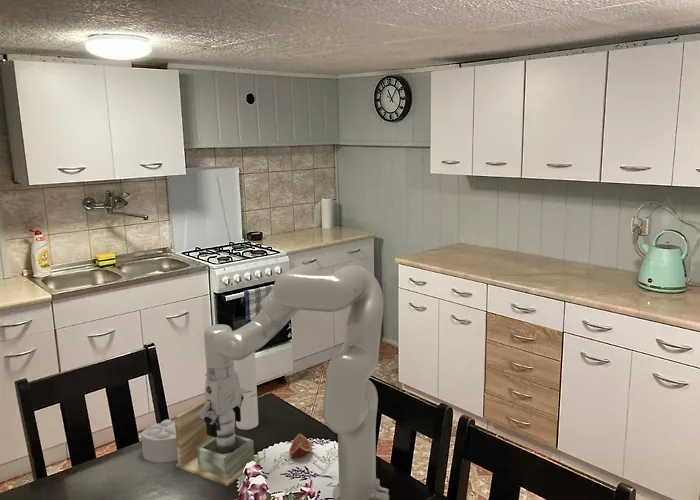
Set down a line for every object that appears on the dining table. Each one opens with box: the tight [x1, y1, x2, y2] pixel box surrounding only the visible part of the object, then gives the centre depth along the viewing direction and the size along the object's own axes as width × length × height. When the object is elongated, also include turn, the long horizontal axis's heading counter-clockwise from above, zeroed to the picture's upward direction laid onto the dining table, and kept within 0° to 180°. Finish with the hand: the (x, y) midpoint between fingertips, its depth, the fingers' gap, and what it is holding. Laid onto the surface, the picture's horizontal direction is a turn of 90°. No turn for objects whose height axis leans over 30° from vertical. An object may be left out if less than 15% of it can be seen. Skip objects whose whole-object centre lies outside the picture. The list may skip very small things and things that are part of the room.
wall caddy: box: [173, 398, 261, 487], centre depth 162 cm, size 19×14×16 cm
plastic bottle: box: [211, 409, 238, 456], centre depth 159 cm, size 6×7×20 cm
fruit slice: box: [288, 432, 313, 459], centre depth 167 cm, size 8×7×5 cm
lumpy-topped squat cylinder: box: [140, 418, 178, 464], centre depth 169 cm, size 10×13×9 cm
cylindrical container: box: [234, 351, 259, 430], centre depth 183 cm, size 7×7×25 cm
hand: (224, 427), depth 160 cm, fingers open, 9 cm apart
